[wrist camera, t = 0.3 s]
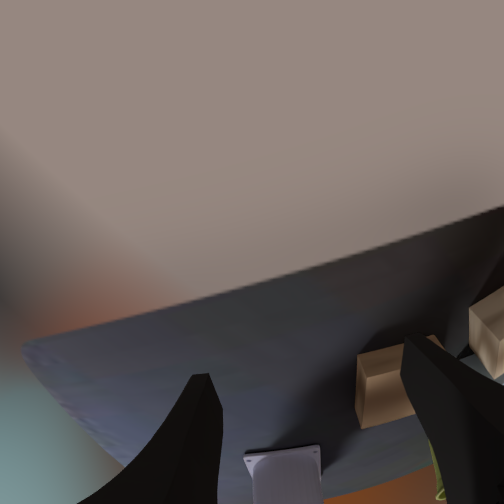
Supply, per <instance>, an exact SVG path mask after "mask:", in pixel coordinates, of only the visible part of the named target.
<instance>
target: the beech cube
mask: <svg viewBox="0 0 504 504" xmlns="http://www.w3.org/2000/svg"><path fill="white" fill-rule="evenodd" d="M469 347H470V348H471V349H472V351H473V352H474V353H475V355H476V356H477V357H478V359H479V360H480V361H481V362H482V364H483V365H484V366H485V368H486V369H487V370H488V372H489V373H490V374H491V376H492V377H493V379H494V380H495V379H496V378H498V377H499V376H500V375H502V374H503V373H504V286H503V287H501V288H500V289H498V290H497V291H495V292H493V293H492V294H490V295H489V296H487V297H486V298H484V299H482V300H481V301H479V302H477V303H476V304H474V305H472V306H471V307H469Z"/></svg>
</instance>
